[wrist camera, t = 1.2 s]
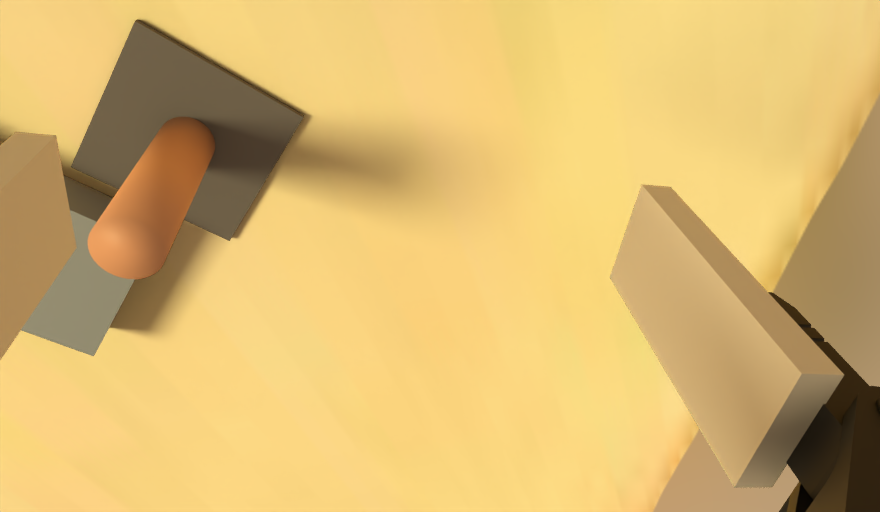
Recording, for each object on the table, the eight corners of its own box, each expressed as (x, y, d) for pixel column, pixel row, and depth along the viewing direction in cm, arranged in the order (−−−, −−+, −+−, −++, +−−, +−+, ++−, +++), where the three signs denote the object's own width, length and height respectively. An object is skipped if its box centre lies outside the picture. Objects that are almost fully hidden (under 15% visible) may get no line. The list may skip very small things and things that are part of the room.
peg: (149, 150, 38) (76, 259, 28) (171, 106, 37) (103, 204, 27) (201, 176, 39) (149, 289, 29) (224, 134, 38) (177, 238, 28)
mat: (73, 164, 38) (70, 167, 38) (137, 19, 34) (135, 21, 34) (230, 237, 42) (229, 240, 42) (303, 115, 38) (303, 117, 38)
